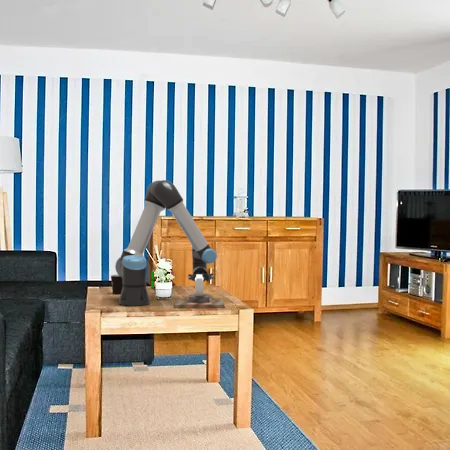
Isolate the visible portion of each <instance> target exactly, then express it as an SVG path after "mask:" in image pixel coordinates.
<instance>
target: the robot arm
mask: <svg viewBox="0 0 450 450" xmlns="http://www.w3.org/2000/svg"><path fill="white" fill-rule="evenodd" d="M145 194H146V195H145V198H144V200H143V202H144V205H145V206H144V207H143V210H142V212H141V215H140V217H139V220H138V222H137V225H136V227H135V229H134V232H133V234H132V237H131V239H130V242H129V244H128V246H127V247H126V248H125V249H123V251H122V253H121V255H120V257H118V259H117V260H116V262H115V266H114V267H115V271H116V273H117V274H116V275H119V276H120V277H121V278H123V288H122V292H121V294H119V299H118V304H119V305H120V304H121V305H120V306H125V305H127V306H128V307H134V306H135V307H139V306H148V305H150V304H151V299H150V295H149V292H148V289H147V266H148V265H147V259H146V257H145V255H144V253H145V250H146V248H147V246H148V243H149V240H150V238H151V236H152V234H153V232H154V229H155V226H156V225H157V224H156V223H157V222H158V219H159V218H160V214H161V212H163V211H165V210H167V211H170V213H171V214H172V216H173V218H174V219H175V220H176V222H177V224H178V225H179V227H180V229H181V230H182V232H183V233H184V234H185V236H186V238H187V240H188V241H189V243H190V244H191V246H192V247H191V253H192V255H191V258H192V259H191V260H192V261H191V262H192V274H190V273H188V274H187V276H188V278H187V279H188V280H190V281H193V282H195V278H196V274H202V278H203V283H204V282H210V281H211V280H212V279H214V273H208V269H207V265H208V264H212V263H213V264H214V262H216V260H217V252H216V250H215V249H213V248H211V246H210V244H209V243H208V241H207V240H206V238H205V236H204V234H203V233H202V232H201V229H200V228H199V227H198V225H197V224H196V222H195V220H194V218H193V216H192V214H190V212H189V210H188V209H187V208H186V206H185V204H184V198H183V197H182V196H181V193H180V192H179V190H178V189H177V187H176V186H175V185H174V183H172V181H170V180H168V179H167V180H165V179H162V180H155V181H153V182H151V183H150V184H149V185H148V186H147V189H146V193H145Z"/></svg>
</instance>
